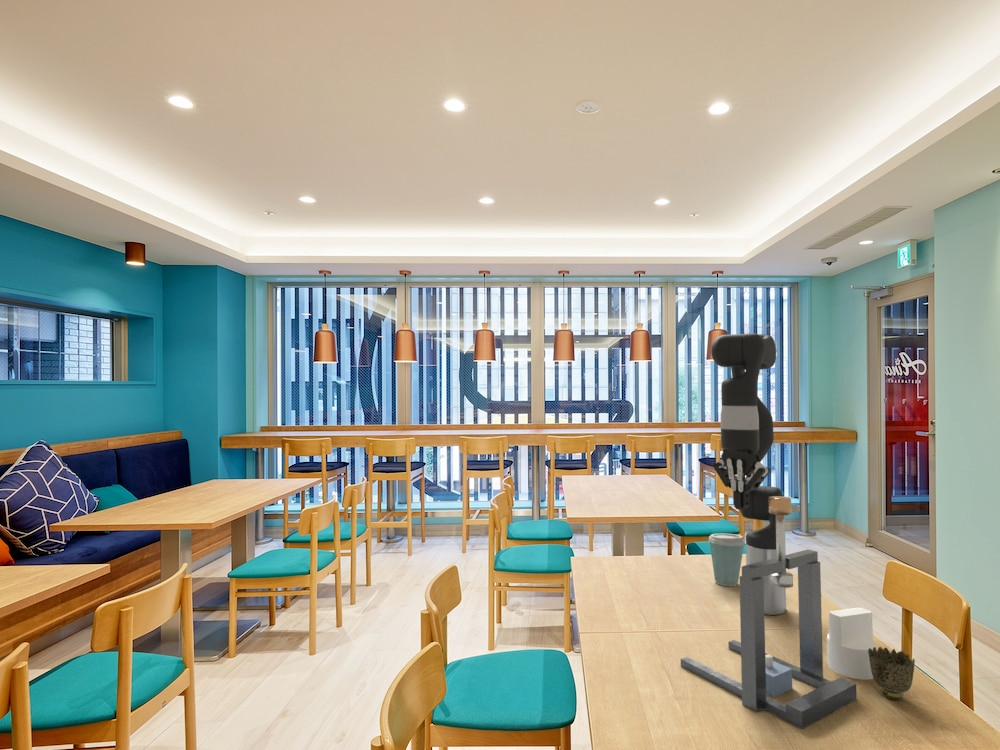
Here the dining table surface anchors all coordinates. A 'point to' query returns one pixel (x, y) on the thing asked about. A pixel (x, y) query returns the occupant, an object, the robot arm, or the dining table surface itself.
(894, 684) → the cup
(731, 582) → the disposable coffee cup
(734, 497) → the robot arm
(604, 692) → the dining table surface
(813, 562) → the press frame
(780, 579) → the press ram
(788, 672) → the housing block
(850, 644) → the base with upright slab
